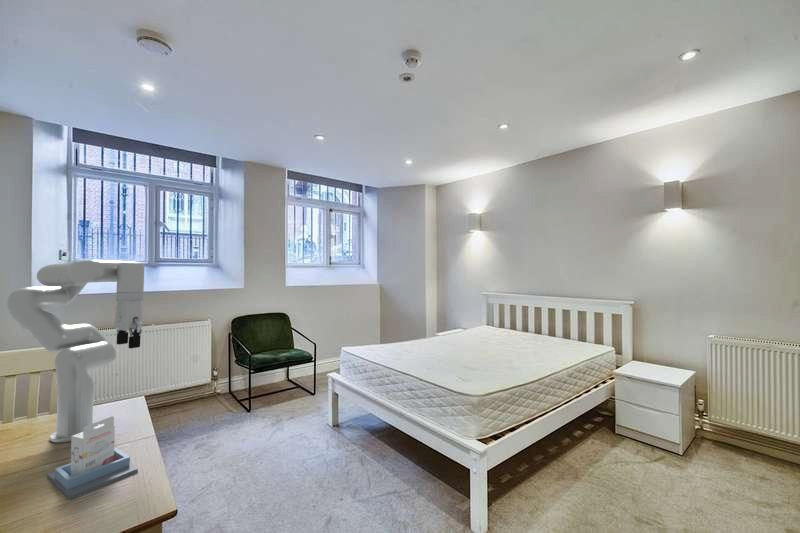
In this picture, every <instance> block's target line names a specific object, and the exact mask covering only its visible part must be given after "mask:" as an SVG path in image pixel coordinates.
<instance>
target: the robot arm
mask: <svg viewBox="0 0 800 533" xmlns="http://www.w3.org/2000/svg"><path fill="white" fill-rule="evenodd" d="M36 279H37V281H38V282H39V283H40V284H41V285H43V286H40V285H39V286H27V287H21V288H18V289H15V290H13V291H11V292H10V293H9V295H8V297H7V300H6V303H7V310H8V312H9V314H10V316H11V317H12V318H13V319H14V320H15V322H17V323H18V324H19V325H21V326H23V327H24V328H25V329H26V330H27V331H28V332H29V333H31V335H32V336H33V337H34V338H35V339H36V340H37V341H38V342H39V344H41V346H43V347H44V349H45V350H47V351H48V352H50V353H53V354H57V355H55V358H54V361H53V362H54V368H55V372H56V379H57V396H56V398H57V399H56V400H57V402H56V427H55V428H56V430H55V431H54V432H53V433H51V434H50V436H49V441H50V442H53V443H68V442H71V436H73V435H76V434H78V433H81V432H83V428H84V427H85V426H88V425H90V424H93V420H94V418H93V415H94V413H93V412H94V388H95V387H94V386H95V385H94V379H93V378H92V377H91V376H90V374H89V373H88V371H91V370H94V369H99V368H102V367H105V366H108V365H110V364H112V363H113V362H114V361H115V359H116V357H117V356H116V355H117V352H116V348H115V346H114V345H113V343H111V341H109V339H108V338H107V337H106V336H105V335H104V334H103V333H102V332H101V331H100V330H99V328H97V327H96V326H94V325H93V324H90V323H77V324H65V323H64V322H63V321H62V320H61V319H60V318H59V317H58V316H57V315H56V314H54V313H52V312H50V311H46V310H45V309H55V308H64V307H67V306H69V305H70V304H71V303H72V302H73V301H74V300H75V299H76V298H77V297H78V296H79V294H80V293H81V292H82V290H83V289H84V288H85V286H87V284H88V283H116V294H115V295H116V297H115V301H116V307H115V312H114V313H115V314H114V323H113V324H114V328H115V329H116V345H125V344H128V349H136V348H141V336H142V331H143V330H142V329H143V308H142V307H143V306H142V302H144V288H145V264H144V263H143V262H141V261H123V260H108V259H107V260H106V259H105V260H103V259H91V260H77V261H72V262H62V263H53V264H52V263H51V264H47V265H45V266H43V267H41V268H40V269H38V271H37V272H36ZM97 426H98V425H97ZM97 426H96V427H97Z"/></svg>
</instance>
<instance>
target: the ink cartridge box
mask: <svg viewBox="0 0 800 533" xmlns="http://www.w3.org/2000/svg"><path fill="white" fill-rule="evenodd" d="M96 426H97V427H96ZM115 431H116V429H115V417H114V416H110V417H107V418H104V419H101V420H98V421H96V422H92V424H90V425H88V426H85V427H84V428H83V432H81V433H78V434H76V435H73V436H71V441H70V442H71V444H70V445H71V448H70V452H71V453H70V463H71V477H73V476H76V475H79V474H81V473H84V472H87V471H89V470H92V469H95V468H97V467H100V466H103V465H106V464H108V463H111V462H114V448H115Z"/></svg>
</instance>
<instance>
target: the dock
mask: <svg viewBox="0 0 800 533" xmlns="http://www.w3.org/2000/svg"><path fill="white" fill-rule="evenodd" d="M130 460H131V456H129V455H128V454H127V453H124V451H122V450H120V449H118V448H117V447H114V462H111V463H108V464H106V465H103V466H100V467H97V468H95V469H92V470H89V471H87V472H84V473H81V474H79V475H76V476H73V477H71V462H70V463H68V464H65V465H61V466H59V467H56V468H54V471H52V472H50V473H47V474H46V475H47V479H48V480H49V481H51V483H52V484H53V485H54V486H56V488H57V489H59V491H60V492H62V493H63V495H65V497H66V498H68V499H69V501H70V500H73V499H76V498H78V497H81V496H83V495H87V494H88V493H90V492H93V491H96V490H99V489H100V488H102V487H105V486H108V485H110V484H113V483H115V482H117V481H119V480H122V479H123V478H126V477H129V476H132V475H133V474H137V473H138V472H139V471H138V467H136V466H135V465H133V464H131V461H130Z"/></svg>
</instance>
